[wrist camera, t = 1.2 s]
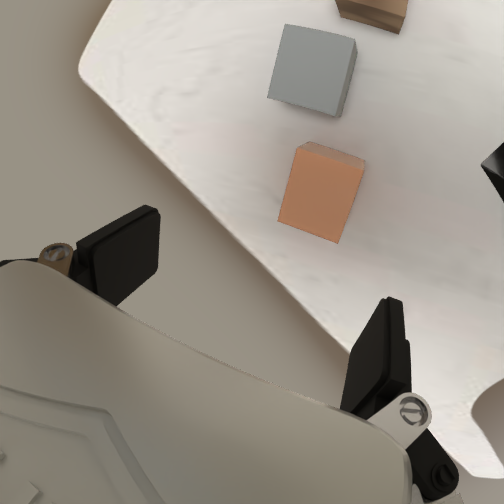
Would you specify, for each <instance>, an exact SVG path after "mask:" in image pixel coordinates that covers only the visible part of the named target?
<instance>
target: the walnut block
mask: <svg viewBox="0 0 504 504" xmlns="http://www.w3.org/2000/svg"><path fill="white" fill-rule="evenodd" d="M335 1H336V4H337V7H338V10H339V13H340V16H341V18H346V19H350V20H353V21H357V22H361V23H364V24H368V25H371V26H375V27H378V28H381V29H384V30H387V31H390V32H393V33H396V34H399V32H400V30H401V27H402V24H403V21H404V19H405V14H406V9H407V4H408V0H335Z"/></svg>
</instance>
